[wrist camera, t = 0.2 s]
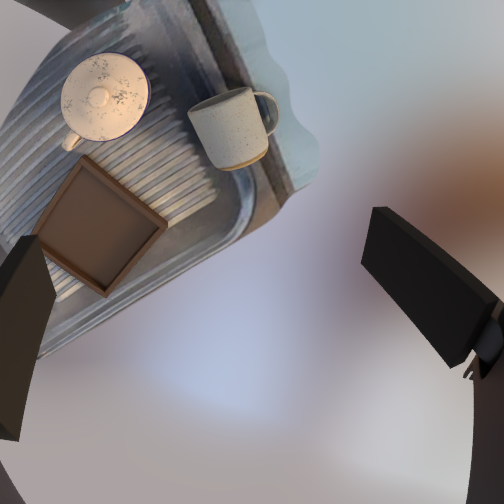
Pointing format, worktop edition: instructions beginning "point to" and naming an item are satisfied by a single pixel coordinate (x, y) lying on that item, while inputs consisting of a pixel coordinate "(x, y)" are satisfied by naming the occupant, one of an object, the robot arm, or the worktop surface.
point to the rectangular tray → (96, 227)
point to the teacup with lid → (104, 98)
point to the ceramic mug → (234, 127)
